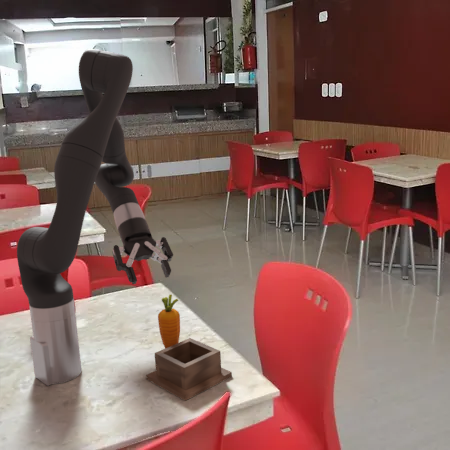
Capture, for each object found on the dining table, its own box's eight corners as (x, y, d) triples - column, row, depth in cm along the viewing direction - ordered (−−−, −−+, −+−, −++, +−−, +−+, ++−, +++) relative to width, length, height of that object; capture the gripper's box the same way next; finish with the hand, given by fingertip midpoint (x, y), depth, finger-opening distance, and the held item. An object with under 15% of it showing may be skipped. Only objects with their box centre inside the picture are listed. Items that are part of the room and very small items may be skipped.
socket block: (185, 400, 108) (183, 373, 107) (146, 379, 118) (144, 353, 116) (231, 376, 117) (230, 350, 116) (192, 358, 126) (190, 333, 125)
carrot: (171, 349, 131) (167, 290, 128) (186, 354, 128) (182, 294, 125) (156, 357, 127) (151, 296, 124) (171, 362, 124) (167, 300, 121)
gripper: (106, 220, 133) (126, 277, 126) (161, 212, 140) (182, 266, 133) (102, 237, 139) (121, 292, 132) (154, 228, 146) (175, 281, 138)
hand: (151, 279), depth 132 cm, fingers open, 8 cm apart
